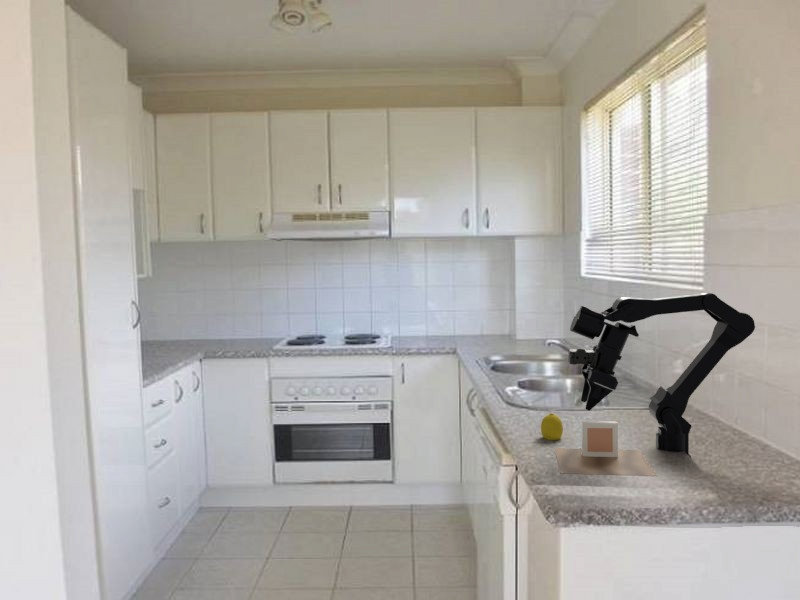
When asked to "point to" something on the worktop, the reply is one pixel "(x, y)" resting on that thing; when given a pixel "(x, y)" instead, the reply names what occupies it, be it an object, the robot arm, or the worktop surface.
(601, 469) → the board
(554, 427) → the lemon
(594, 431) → the block
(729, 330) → the robot arm
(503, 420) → the worktop surface
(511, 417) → the worktop surface
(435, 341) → the worktop surface
